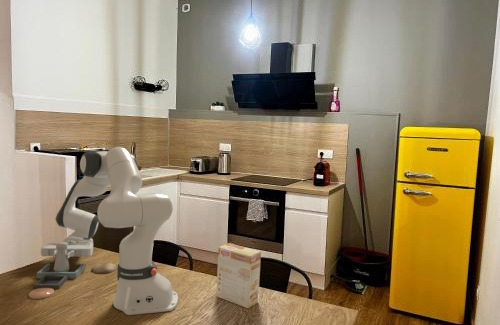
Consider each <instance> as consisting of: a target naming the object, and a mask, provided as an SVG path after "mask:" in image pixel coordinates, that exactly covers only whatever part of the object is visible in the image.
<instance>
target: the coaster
mask: <svg viewBox="0 0 500 325" xmlns="http://www.w3.org/2000/svg"><path fill="white" fill-rule="evenodd" d="M54 293H55V289H52V288H38V289H33V290H31V291H29V293H28V298H30V299H31V300H42V299H46V298H50V297H51V296H52V295H54Z"/></svg>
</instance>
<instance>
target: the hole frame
mask: <svg viewBox="0 0 500 325" xmlns="http://www.w3.org/2000/svg"><path fill="white" fill-rule="evenodd" d="M68 280H69V278H68V275H44V276H43V277H42V278H39V279H38V280H37V281H36V282H35V283H34V284H33V290H35V289H38V288H52V289H54V290H59V289H60V288H62V286H63V285H64V284H65V283H66V282H67V281H68Z"/></svg>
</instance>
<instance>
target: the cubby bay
mask: <svg viewBox="0 0 500 325" xmlns="http://www.w3.org/2000/svg"><path fill="white" fill-rule="evenodd" d="M50 269H51V263H46V264H45V265H44V266H43V267H42V268H41V269H39V270H38V271H37V272H36V279H41V278H42V277H43V276H44V275H68V279H77V278H78V277H79V276H80V275H81V274H82V273H83V271H84V270H85V263H81V264H80V266H78V268H77V269H76V270H75V271H67V272H55V271H49V270H50Z"/></svg>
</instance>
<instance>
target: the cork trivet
mask: <svg viewBox="0 0 500 325" xmlns="http://www.w3.org/2000/svg"><path fill="white" fill-rule="evenodd" d="M117 267H118V264H115V263H112V262H106V263H105V262H103V263H97V264H95V265H94V266H92V271H93V272H94V273H95V274H110V273H113V272H114V273H115V271H116V272H117Z"/></svg>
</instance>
